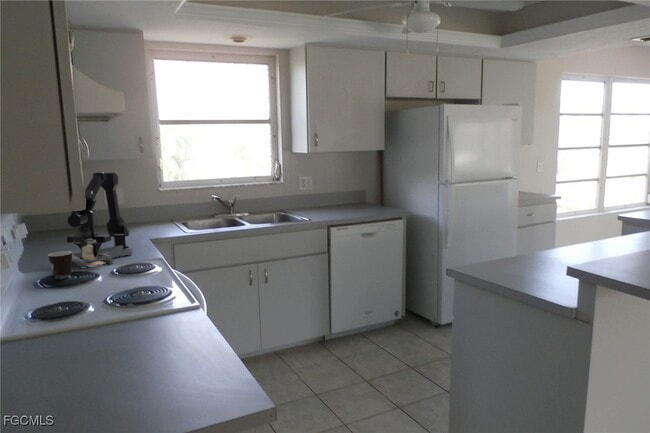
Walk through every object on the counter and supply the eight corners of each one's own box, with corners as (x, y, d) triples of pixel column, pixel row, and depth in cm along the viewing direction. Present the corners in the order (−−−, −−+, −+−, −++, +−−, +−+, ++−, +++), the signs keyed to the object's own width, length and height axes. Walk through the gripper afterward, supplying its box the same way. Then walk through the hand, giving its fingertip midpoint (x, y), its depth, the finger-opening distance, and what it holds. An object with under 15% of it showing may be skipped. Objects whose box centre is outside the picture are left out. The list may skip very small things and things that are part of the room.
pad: (83, 264, 212) (83, 264, 212) (102, 261, 218) (102, 260, 218) (89, 267, 207) (88, 266, 207) (107, 264, 213) (107, 263, 213)
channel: (68, 260, 221) (67, 254, 221) (122, 250, 239) (121, 244, 238) (84, 269, 206) (83, 262, 205) (140, 258, 223) (140, 251, 222)
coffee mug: (53, 275, 196) (50, 252, 195) (76, 273, 199) (73, 250, 198) (47, 283, 186) (44, 258, 184) (72, 280, 189) (69, 256, 187)
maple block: (89, 257, 219) (87, 245, 218) (98, 257, 218) (96, 245, 217) (83, 260, 214) (81, 247, 213) (92, 260, 214) (91, 247, 213)
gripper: (56, 226, 207) (59, 261, 209) (95, 226, 204) (99, 261, 207) (72, 222, 218) (76, 255, 220) (110, 222, 215) (113, 255, 218)
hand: (90, 256), depth 216 cm, fingers closed on maple block, 4 cm apart
